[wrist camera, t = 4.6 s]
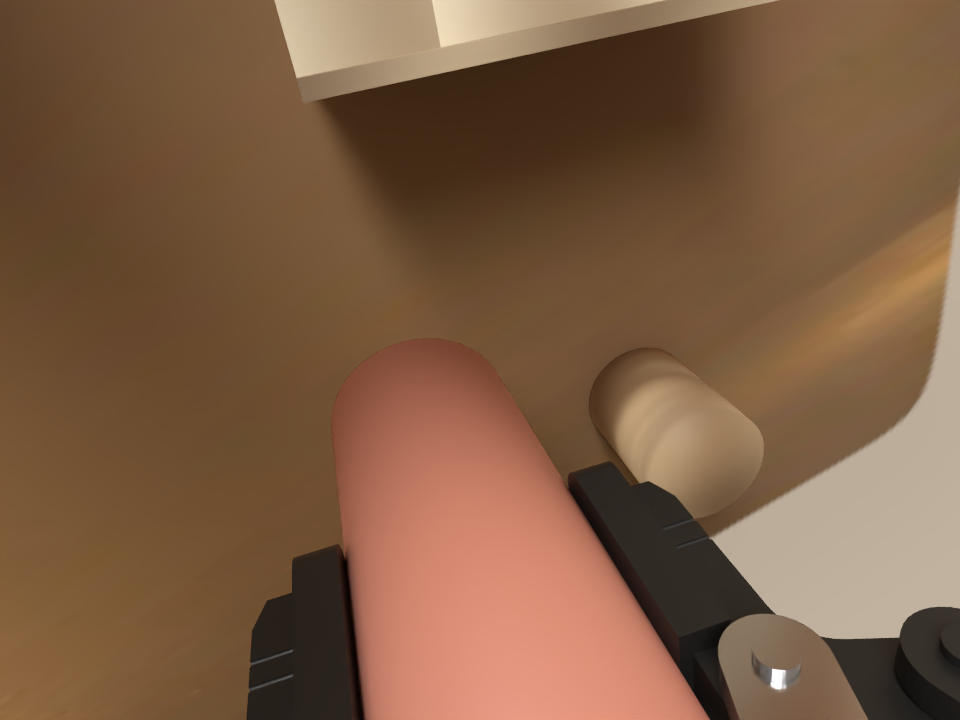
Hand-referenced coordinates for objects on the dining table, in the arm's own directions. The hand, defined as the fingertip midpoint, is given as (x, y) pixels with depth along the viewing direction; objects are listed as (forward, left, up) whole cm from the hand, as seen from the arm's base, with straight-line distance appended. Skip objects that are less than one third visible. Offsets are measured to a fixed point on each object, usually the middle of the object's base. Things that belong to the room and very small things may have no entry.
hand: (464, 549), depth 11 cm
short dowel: (+8, -6, -12) cm, 16 cm away
